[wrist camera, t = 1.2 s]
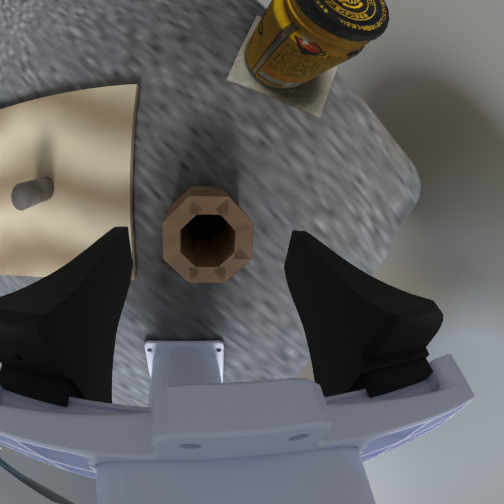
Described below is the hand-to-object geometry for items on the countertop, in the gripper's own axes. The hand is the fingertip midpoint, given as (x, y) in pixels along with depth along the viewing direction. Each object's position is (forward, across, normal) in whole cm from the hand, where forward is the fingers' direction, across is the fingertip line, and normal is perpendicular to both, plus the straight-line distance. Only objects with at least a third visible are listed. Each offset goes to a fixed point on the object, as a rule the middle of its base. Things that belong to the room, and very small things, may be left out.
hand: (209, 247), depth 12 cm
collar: (+10, 0, +4) cm, 11 cm away
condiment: (+14, -6, -9) cm, 18 cm away
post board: (+11, +14, +1) cm, 18 cm away
